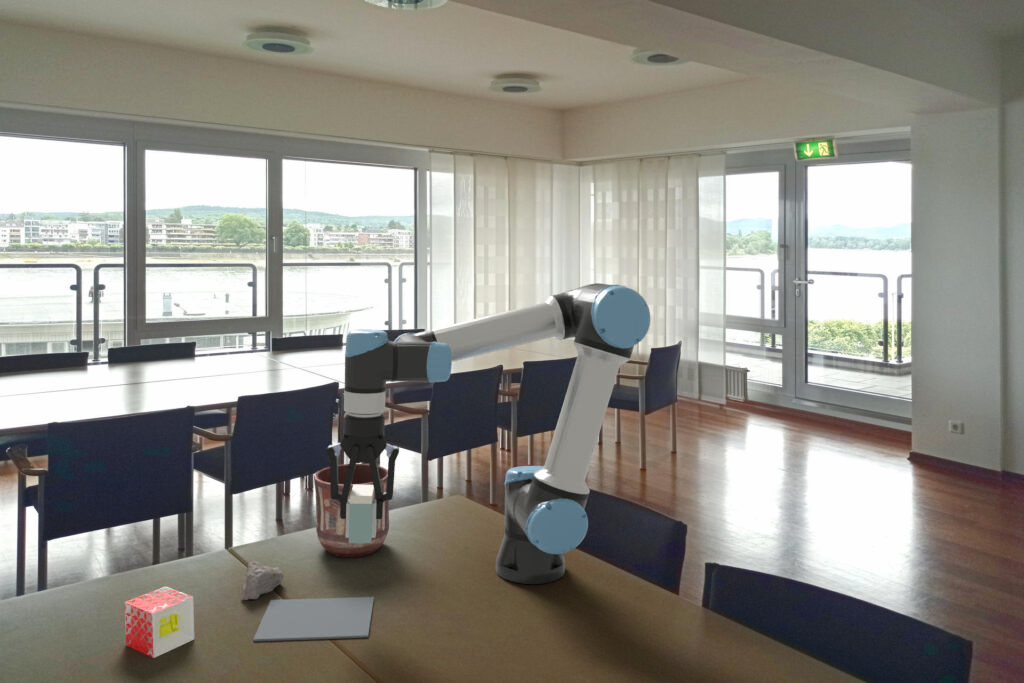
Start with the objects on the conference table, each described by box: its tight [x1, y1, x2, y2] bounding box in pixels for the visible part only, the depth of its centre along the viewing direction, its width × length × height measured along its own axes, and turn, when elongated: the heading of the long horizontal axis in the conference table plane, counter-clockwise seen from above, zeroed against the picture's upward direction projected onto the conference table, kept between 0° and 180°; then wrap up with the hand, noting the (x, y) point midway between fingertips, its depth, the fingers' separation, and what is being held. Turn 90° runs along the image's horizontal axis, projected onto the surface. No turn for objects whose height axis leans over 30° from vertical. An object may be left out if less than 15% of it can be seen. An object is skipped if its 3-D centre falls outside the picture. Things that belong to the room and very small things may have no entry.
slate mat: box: [252, 596, 375, 642], centre depth 148 cm, size 20×16×1 cm
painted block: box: [349, 485, 374, 543], centre depth 148 cm, size 4×7×9 cm, turn 7°
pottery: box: [313, 463, 390, 558], centre depth 183 cm, size 18×18×18 cm
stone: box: [240, 560, 285, 601], centre depth 160 cm, size 10×8×6 cm
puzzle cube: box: [124, 586, 195, 659], centre depth 138 cm, size 8×8×8 cm
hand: (361, 534), depth 149 cm, fingers closed on painted block, 4 cm apart
